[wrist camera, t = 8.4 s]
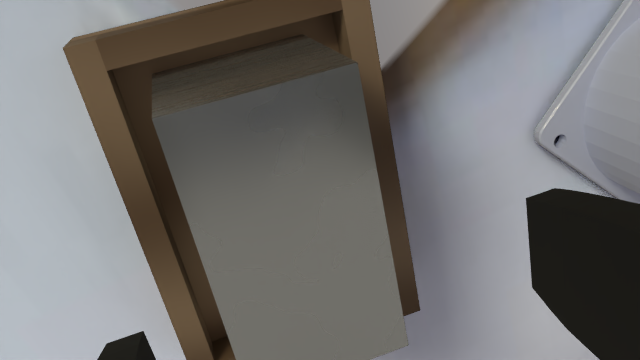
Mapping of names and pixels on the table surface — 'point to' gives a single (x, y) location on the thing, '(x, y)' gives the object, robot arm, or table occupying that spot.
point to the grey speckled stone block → (283, 200)
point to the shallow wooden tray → (148, 157)
